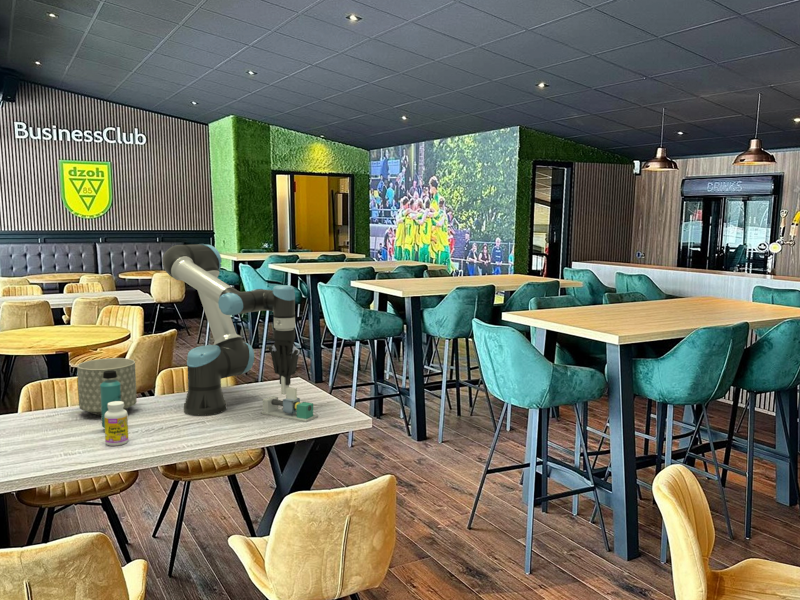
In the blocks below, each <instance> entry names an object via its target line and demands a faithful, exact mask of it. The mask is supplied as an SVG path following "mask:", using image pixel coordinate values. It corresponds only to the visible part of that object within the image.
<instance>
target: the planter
mask: <svg viewBox="0 0 800 600" xmlns="http://www.w3.org/2000/svg"><path fill="white" fill-rule="evenodd" d="M76 366H77V385H78V389H77V390H78V407H79V409H80V410H82V411H84V412H88V413H90V414H92V415H96V416H102V413H101V388H100V385H101V384H102V383H103V382H104V381H106V380H117V381H118V382H120V384H121V385H120V388H121V397H122V398H121V401H122V402H124V407H123V409H124V410H126V411H127V409H129V408H131V407H133V406H135V405H136V404H137V381H136V380H137V377H136V361H135V360H134V359H130V358H124V357H114V358H113V357H112V358H110V357H108V358H97V359H90V360H86V361H83V362H80V363H78V364H77V365H76ZM109 370H114V371H116V374H117V377H116V378H111V379H105V378H103V373H104V372H105V371H109Z"/></svg>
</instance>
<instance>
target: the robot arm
mask: <svg viewBox="0 0 800 600" xmlns="http://www.w3.org/2000/svg"><path fill="white" fill-rule="evenodd" d="M222 262H223V261H222V256H221V254H220V252H219V251H218V249H217V248H216V247H215V246H213V245H211V244H204V243H199V244H177V245H176V244H175V245H173V246H171V247H169V248H168V249H167V250H166V251H165V252H164V254H163V256H162V267H163V269H164V271H165V273H166V274H167V275H169V276H170V277H171V278H173V279H174V280H176V281H182V282H184V283H186V284H187V285H189V286H190V287H191V288H193V289H195V290H197V293H198V296H199V299H200V302H201V304H202V305H201V306H202V307H203V311H204V313H205V317H206V320H207V323H208V326H209V329H210V330H211V331H210V332H211V334H212V337H213V340H214V342H213V344H206V345H200V346H197V347H194V348H192V349H190V350H189V351H188V353H187V358H186V365H187V392H186V393H187V394H186V397H185V401H184V403H183V413H184V414H186V415H188V416H189V415H190V416H199V417H200V416H211V415H212V416H213V415H217V414H220V413H222V412H223V413H224V412H225V411H226V410H227V401H226V400H225V397H224V394H223V390H222V379H226V378H229V377H230V378H231V377H235V376H241V375H242V374H246V373H248V372H249V371H250V370H252V367H253V366H254V363H255V352H254V348H253V347H252V345H251V344H249V343H247V342H244V340H243V336H241V335H240V334H237V332H236V328H235V326H234V323H233V320H232V316H235V315H241V314H246V313H247V314H248V313H254V312H262V311H268V312H269V311H270V312H273V328H274V330H273V340H274V342H273V345H271V346H269V347H268V350H269V353H270V355H271V360H272V361H271V362H272V365H273V371H274V373H275V374H277V375H278V376H279V385H280V394H281V395H285V396H286V387H290V386H291V379H292V378H291V376H293V375H295V374H296V371H297V366H298V361H299V355H300V354H301V352H302V350H301V349H300V348H297V347H296V342H295V339H296V330H295V327H296V311H295V310H296V295H295V294H296V292H295V287H294V286H293V285H288V284H287V285H286V284H283V285H282V284H280V285H279V284H278V285H275V286H273V288H272V289H271V290H270V289H263V288H253V289H251V290H249V291H248V290H247V291H246V290H245V291H239V290H237V289H236V288H234V287H233V286H231V285H229V284H228V283H226V282H224V281H222V280H221V279H219V278H218V277H219V276H220V269H221V267H222V264H221V263H222Z"/></svg>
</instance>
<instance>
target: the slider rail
mask: <svg viewBox="0 0 800 600" xmlns="http://www.w3.org/2000/svg"><path fill="white" fill-rule="evenodd" d="M279 407H283V400H280V399H279V396H276V395H273V396H269V397H266V398H264V399H262V411H261V412H260V414H261V415H265V416H271V417H276V418H283V419H288V420H292V421H296V422H301V423H302V422H303V423H308V422H310V421H312V420H314V418H315V419H317V418H318V417H319V416H318V415H316V414H314V403H312V402H306V401H303V402H301V401H300V402H297V403H293V408H295V409H296V410H297V412H295V413H293V414H291V413H285V412H283V408H279ZM316 417H317V418H316Z"/></svg>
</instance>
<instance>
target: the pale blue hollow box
mask: <svg viewBox="0 0 800 600" xmlns="http://www.w3.org/2000/svg"><path fill="white" fill-rule="evenodd" d="M297 396H298V388H297V387H291V386H289V387H286V394H285V398H283V399H282V401H283V406H282V409H283V412H285V413H291V414H293V413H295V412H297V410H296V409H295V408H293V403H297V402H300V403H301V398H300V397H297Z"/></svg>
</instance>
